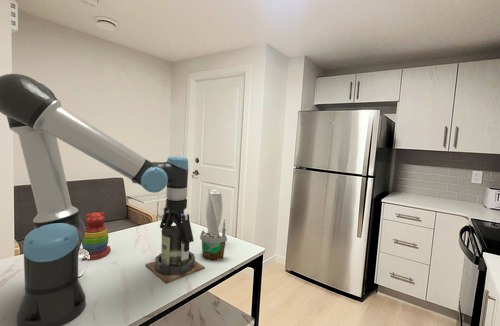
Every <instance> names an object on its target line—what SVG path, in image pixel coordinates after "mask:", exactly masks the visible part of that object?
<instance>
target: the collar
mask: <svg viewBox="0 0 500 326" xmlns="http://www.w3.org/2000/svg"><path fill="white" fill-rule="evenodd" d="M195 257H196V256H195V254H194V253H193V252H191V251H189V259H188V261H189V262H187V263H184V264H182V265H174V266H169V265H164V264H162V263H161V253H159V254H158V255H156V256H155V260H154V261H155V270H156V271H157V272H158V273H160V274H164V275H181V274H184V273H186V272H189V271H191V270H192V268H193V267H194V266H195V261H196V259H195Z"/></svg>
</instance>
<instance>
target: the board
mask: <svg viewBox="0 0 500 326" xmlns="http://www.w3.org/2000/svg"><path fill="white" fill-rule="evenodd" d="M188 262H189V261H188ZM144 265H145V267H146V268H147V269H148V271H149V270H150V272H152V273H153V274H154V275H155V276H156V277H157V278H159V279H160V280H161V281H162V282H163V283H165V284H170V283H171V282H174V281H177V280H179V279H182V278H185V277H187V276H190V275H192V274H195V273H197V272H200V271H202V270H205V268H206V267H205V266H204V265H203V264H202V263H200V262H198V261H196V260H195V266H194V267H193V268H192V270H191V271H189V272H186V273H184V274H181V275H164V274H160V273H158V272H157V271H156V270H155V260H154V261H151V262H148V263H145V264H144Z"/></svg>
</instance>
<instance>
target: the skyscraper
mask: <svg viewBox="0 0 500 326" xmlns="http://www.w3.org/2000/svg"><path fill="white" fill-rule="evenodd" d="M207 189H208V193H207V199H206V200H207V201H206V207H205V218H206V219H205V221H206V225H207V232H206V233H209V234H216V235H218V236H220V230H219V227H220V224H221V221H222V216H223V195H222V192H221V190H219V189H217V188H213V187H210V188H207ZM225 221H226V219H223V226H222V229H221V230H222V231H221V232H222V233H221V234H222V235H221V237H223V236H226V223H225Z"/></svg>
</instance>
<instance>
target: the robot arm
mask: <svg viewBox="0 0 500 326" xmlns="http://www.w3.org/2000/svg"><path fill="white" fill-rule="evenodd" d="M0 113H1V114H2V115H4V116H5V117H6V119H7V123H8V127H9V130H10V131H13V132H14V133H16V134H17V135H18V138H19V142H20V143H19V144H20V146H21V150H22V153H23V157H24V158H23V159H24V162H25V163H24V164H25V167H26V170H27V174H28V179H29V183H30V187H31V190H32V194H33V197H34V203H35V207H36V211H37V214H36V216H35V217H34V218H33V219H32V222H33V226H34V229H32V230H31V231H29V232H28V234H26V236H25V237H24V240H23V246H22V250H23V251H22V253H23V266H24V294H23V297H22V299H21V303H20V306H19V308H18V310H17V313H16V325H18V326H62V325H65V324H67V323H69V322H71V321H72V320H74V319H75V318H77V317H78V316H79V315H80V314H81V313H82V312H83V311H84V309H85V308H86V305H87V304H86V303H87V302H86V298H87V297H86V294H85V292H84V289H83V287H82V284H81V282H80V281H79V252H80V249H81V246H82V241H83V239H84V236H85V228H86V227H85V226H86V225H85V223H84V222H83V220H82V218H81V216H80V211H79V208H77V207H75V206H73V205H72V202H71V197H70V192H69V188H68V187H69V186H68V184H67V179H66V178H67V177H66V173H65V170H64V166H63V162H62V157H61V153H60V146H59V143H58V139H59V140H61V141H62V142H64V143H66V144H67V145H69V146H71V147H73V148H74V149H76V150H78V151H80V152H82V153H84V154H85V155H87V156H89V157H91V158H93V159H94V160H96V161H98V162H99V163H101V164H103V165H104V166H107V167H108V168H110V169H112V170H114V171H115V172H117V173H119V174H121V175H122V176H124V177H126V178H127V179H129V180H131V182H132V184H137V185H139V186H141V187H142V188H143V189H144V190H145V191H147V192H148V193H160V192H161V191H164V189H165V188H166V191H165V192H166V195H165V197H166V200H165V207H164V210H163V215H162V218H161V221H160V225H159V228H160V229H161V230H162V229H163V228H165V227H169V226H173V224H175V226H178V229H179V231H180V234H181V237H182V240H183V242H182V243H181V260H185V259H188V258H189V252H190V243H193V242H194V236H193V231H192V226H191V222H190V214H189V213H186V214H185V210H186V209H187V208H188V199H187V197H188V180H189V179H188V178H189V171H190V170H189V160H188V158H187V157H185V156H168V157H167V160H166V161H162V162H159V161H150V160H148V159H147V158H145V157H143V156H142V155H140V154H139V153H137V152H135V151H134V150H133V149H131V148H129V147H127V146H126V145H124V144H123V143H121V142H120V141H118V140H117V139H115V138H114V137H112V136H110V135H108V134H107V133H105V132H103V131H102V130H100V129H98V128H97V127H96V126H95V125H92V124H91V123H89V122H88V121H86V120H84V119H83V118H81V117H79V116H78V115H76V114H74V112H72V111H70V110H69V109H67V108H65V107H63V106H62V101H61V100H59V98H57V97H56V94H54V92H53V91H52V90H51V89H50V88H49V87H48V86H47V85H45V84H43V83H41V82H39V81H37V80H36V79H35V78H32V77H31V76H28V75H24V74H20V73H8V74H7V73H6V74H3V75H0Z"/></svg>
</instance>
